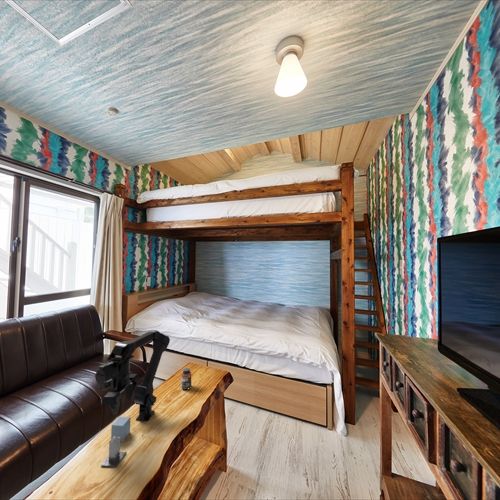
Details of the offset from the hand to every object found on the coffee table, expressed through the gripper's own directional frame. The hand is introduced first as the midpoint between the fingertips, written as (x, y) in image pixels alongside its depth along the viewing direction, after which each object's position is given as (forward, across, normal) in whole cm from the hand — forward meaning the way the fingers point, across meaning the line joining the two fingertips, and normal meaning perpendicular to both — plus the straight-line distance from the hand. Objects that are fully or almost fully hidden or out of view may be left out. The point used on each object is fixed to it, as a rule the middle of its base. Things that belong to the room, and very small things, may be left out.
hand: (121, 407), depth 94 cm
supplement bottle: (+14, -38, +17) cm, 44 cm away
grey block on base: (+13, 0, 0) cm, 13 cm away
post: (+13, +11, +4) cm, 17 cm away
